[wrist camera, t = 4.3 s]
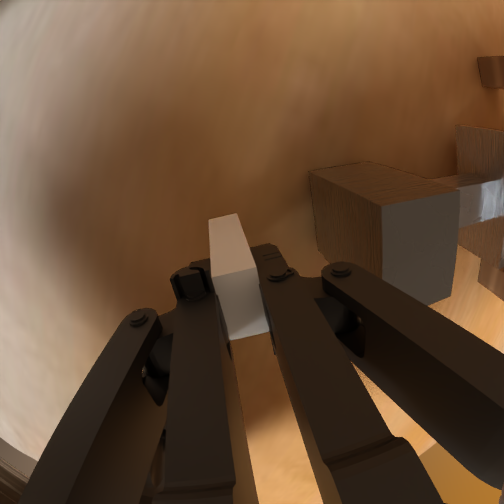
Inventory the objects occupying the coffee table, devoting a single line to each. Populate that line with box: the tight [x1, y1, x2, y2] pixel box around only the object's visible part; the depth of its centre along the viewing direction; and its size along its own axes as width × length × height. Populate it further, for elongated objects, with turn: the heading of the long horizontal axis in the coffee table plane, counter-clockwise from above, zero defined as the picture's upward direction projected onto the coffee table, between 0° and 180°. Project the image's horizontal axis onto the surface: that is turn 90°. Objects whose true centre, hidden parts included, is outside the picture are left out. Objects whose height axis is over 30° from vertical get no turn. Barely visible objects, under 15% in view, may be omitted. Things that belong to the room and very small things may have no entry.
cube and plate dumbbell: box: [308, 125, 504, 306], centre depth 15 cm, size 12×9×8 cm
